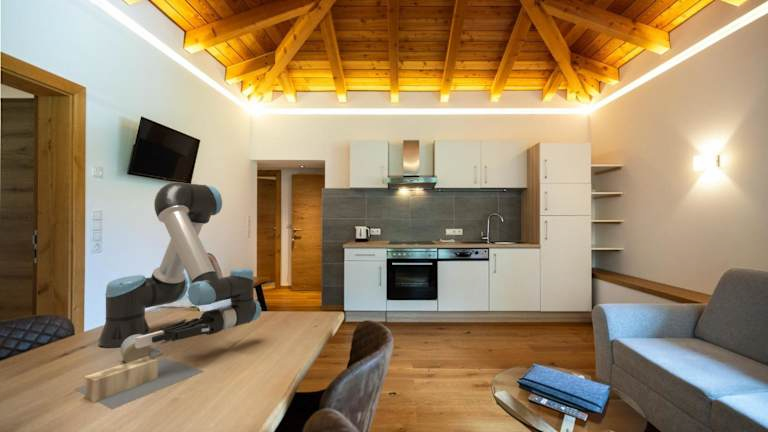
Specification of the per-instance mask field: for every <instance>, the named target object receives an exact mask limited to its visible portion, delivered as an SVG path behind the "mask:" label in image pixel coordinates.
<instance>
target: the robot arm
mask: <svg viewBox="0 0 768 432" xmlns="http://www.w3.org/2000/svg"><path fill="white" fill-rule="evenodd" d="M153 203H154V205H153V206H154V212H155V215H156V216H157V219H158V221H159V222H160V223H163V224H164V226H165V228H166V230H167V233H168V234H169V238H170V240H169V243H168V246H166V247H167V248H166V250H165V253H164V255H163V258H162V260H161V263H160V266H159V267H156V268H154V269H153V271H152V274H151V276H150V277H146V276H145V275H142V274H135V275H130V276H129V275H128V276H124V277H119V278H115V279H113V280H111V281H109V282H108V283H107V284H106V289H105V294H104V295H105V323H104V326H103V328H102V330H101V333H100V336H99V339H98V346H99V345H100V346H103V347H102V348H119V347H120V348H121V345H122V343H123V341H124V340H125V339H126V338H128V337H129V336H132V335H135V334H141V335H142V336H139V337H135V348H142V347H145V346H148V345H151V346H152V345H154V344H158V343H163V342H164V341H167V342H168V341H171V342H175V341H179V340H183V339H188V338H191V337H197V336H201V335H209V336H210V335H214V334H217V333H220V332H223V331H224V332H227V331H228V330H229V329H232V328H235V327H238V326H242V325H246V324H249V323H251V322H254V321H256V320H258V319H259V318H260V317H261V314H262V307H261V303H260V302H259V301H258V300H257V299H255V298H254V286H255V285H254V284H255V283H254V281H255V279H254V271H253V270H252V269H251V268H250V267H249V268H246V267H245V268H235V269H232V270H230V273H229V274H230V275H229V276H223V277H219V276H218V274H217V272H216V270H215V267H214V265H213V263H212V262H211V260H210V258H209V255H208V254H207V251H206V249H205V247H204V245H203V243H202V241H201V239H200V237H199V235H200V232H201V230H202V227H203V225H206V224H208V223H209V221H210V220H211V217H212V216H216V215H218V214H219V213H220V212H221V211H222V208H223V198H222V195H221V192H220V191H219V190H218V189H217V188H216V187H214V186H211V185H207V184H197V183H188V182H183V181H175V182H174V181H173V182H170V183H167V184H165V185H164V186H162V187H161V188H160V189H159V190H158V192H157V193H156V195H155V197H154V202H153ZM184 271H186V273H187V276H188V278H189V280H190V282H191V284H190V285H189V286H188V279H187V277H186V274H185V272H184ZM186 293H187V295H188V297H187V298H188V300H189V302H190V303H191V304H192V305H193V306H197V307H200V306H201V307H202V306H206V305H207V306H208V305H211V304H214V303H219V302H222V301H225V300H226V301H228V300H230V305H226V306H222V307H217V308H213V309H210V310H206V311H204V312H203V313H202V314H201V316H200V318H199V317H198V318H197V317H195V318H192V319H191V320H188V319H185V318H184V319H183V320H182V319H181V321H178V322H175V323H172V324H168V325H166V326H163V327H160V328H158V331H154V332H151V329H150V326H149V324H148V322H147V319H146V309H148V308H153V307H157V306H163V305H167V304H168V305H169V304H172V303H173V304H174V303H175V302H178V301H180V300H182V299H183V298H184V297H185V295H186ZM100 346H99V347H100Z"/></svg>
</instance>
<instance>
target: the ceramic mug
mask: <svg viewBox="0 0 768 432" xmlns="http://www.w3.org/2000/svg"><path fill="white" fill-rule="evenodd" d="M139 336H142V335H141V334H135V335H132V336H129V337H128V338H126V339H125V340H124V341H123V343H122V345H121V346H120V354H121V357H122V359H123V361H124V362H125V363H128V362H131V361H135V360H138V359H141V358H144V357H147V356H149V357H152V358H156V357H159V356H161V355H162V354H163V350H161V349H159V348H157V347H153V346H152V345H148V346H145V347H142V348H135V337H139Z"/></svg>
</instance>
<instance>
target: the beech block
mask: <svg viewBox="0 0 768 432" xmlns="http://www.w3.org/2000/svg"><path fill="white" fill-rule="evenodd" d="M158 361H159V360H158V358H156V357H153V358H152V357H149V356H147V357H144V358H141V359H138V360H135V361H131V362H128V363H126V362H125V363H122V364H120V365H116V366H113V367H111V368H110V367H109V368H106V369H103V370H101V371H97V372H94V373H91V374H88V375H85V376H84V386H85V392H84V394H83V395H84V398H85V399H87V400H89V401H90V402H92V403H96V402H97V401H98V400H101V399H104V398H106V397H109V396H111V395H114V394H117V393H119V392H122V391H125V390H127V389H130V388H133V387H135V386H138V385H141V384H143V383H146V382H148V381H151V380H154V379H156V378H158Z"/></svg>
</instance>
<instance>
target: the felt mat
mask: <svg viewBox="0 0 768 432" xmlns="http://www.w3.org/2000/svg"><path fill="white" fill-rule="evenodd" d="M204 372H205V370H202V369H198V368H196V367H193V366H189V365H187V364H184V363H180V362H178V361H175V360H172V359H169V358H163V359H159V360H158V378H156V379H154V380H151V381H148V382H146V383H143V384H141V385H138V386H135V387H133V388H130V389H127V390H125V391H122V392H119V393H117V394H114V395H111V396H109V397H106V398H104V399H101V400H98V401H96V402H98V403H99V404H101V405H103V406H105V407H107V408H108V409H111V410H114V409H117V408H119V407H122V406H123V405H126V404H129V403H131V402H133V401H136V400H138V399H141V398H143V397H147V396H149V395H151V394H153V393H156V392H158V391H161V390H163V389H165V388H168V387H171V386H172V385H175V384H177V383H179V382H182V381H185V380H187V379H190V378H192V377H195V376H197V375H199V374H202V373H204ZM74 391H77V392H78V393H80V394H83V395H84V392H85V385H82V386H79V387H75V388H74Z"/></svg>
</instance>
